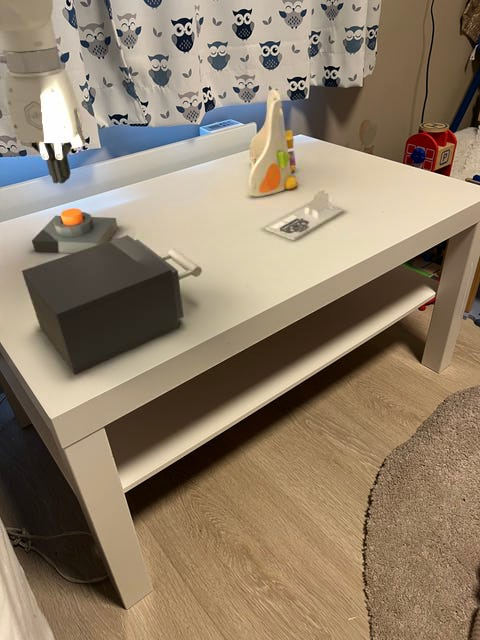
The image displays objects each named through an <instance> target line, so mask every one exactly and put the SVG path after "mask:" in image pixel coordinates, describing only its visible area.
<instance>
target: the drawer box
mask: <svg viewBox="0 0 480 640" xmlns="http://www.w3.org/2000/svg"><path fill="white" fill-rule="evenodd" d="M135 240H136V239H134V238H132V237H131V236H129V234H126V235H123V236H120V237H117V238H115V239H110V240H109V241H108V242H105V243H102V244H99V245H96V246H93V247H90V248H87V249H84V250H82V251H79V252H76V253H69V254H67V255H64V256H61V257H58V258H55V259H52V260H48V261H46V262H43V263H41V264H37V265H33V266H31V267H28V268H26V269H22V270H21V273H22V276H23V279H24V283H25V286H26V288H27V292H28V294H29V297H30V301H31V304H32V306H33V310H34V312H35V316H36V319H37V323H38V324H39V328H40V329H41V331H42V332H43V334H44V335H45V337H47V339H48V341H49V343H51V345H52V346H53V347H54V348H55V350H56V351H57V352H58V355H60V357H61V358H62V359H63V361H64V363H65V364H66V365H67V366H68V368H69V369H70V370H71V372H72V373H73V375H77V374H79V373H82V372H84V371H86V370H89V369H91V368H93V367H95V366H97V365H99V364H102V363H104V362H106V361H108V360H111V359H112V358H115V357H118V356H119V355H122V354H124V353H126V352H128V351H130V350H133V349H135V348H137V347H140V346H142V345H143V344H146V343H148V342H150V341H152V340H154V339H158V338H159V337H161V336H164V335H166V334H168V333H170V332H172V331H175V330H176V329H179V328H180V323H179V320H178V315H177V307H176V300H175V292H174V284H173V276H172V270H171V269H170V268H169V267H168V266H166V265H165V264H164V263H163V262H161V261H160V260H159V259H157V258H156V257H155V256H154V255H152V254H151V253H150V252H149V251H147V250H146V249H145V248H144V247H142V246H141V245H140V244H138V243H137V242H136V241H135Z"/></svg>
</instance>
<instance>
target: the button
mask: <svg viewBox="0 0 480 640" xmlns="http://www.w3.org/2000/svg"><path fill="white" fill-rule="evenodd" d="M82 212H83V211H82V209H80V208H76V207H75V208H67V209H64V210H63V211H61V213H60V216H61V217H62V221H63V224H64V225H75V224H79V223H81V222H83V215H82Z"/></svg>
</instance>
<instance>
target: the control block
mask: <svg viewBox="0 0 480 640" xmlns="http://www.w3.org/2000/svg"><path fill="white" fill-rule="evenodd" d="M82 215H83V222H81V223H79V224H75V225H64V224H63V221H62V217H61V215H55V216H54V217H53V218H52V219H51V220H50V221H48V223H47V224H46V225H45V226H44V227H43V228H42V229H41V230H40V231H39V232H38V234H36V235H35V237H33V238H32V240H31V244H32V246H33V250H34V252H37V253H56V254H57V253H59V254H73V253H76V252H79V251H82V250H84V249H87V248H90V247H93V246H96V245H99V244H102V243H105V242H108V241H111V238H112V237H113V236H114V235H115V233H116V231H117V230H118V229H119V228H118V222H117V218H116V217H103V216H100V217H99V216H92V215H91V214H90V213H87V212H84V211H82Z"/></svg>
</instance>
